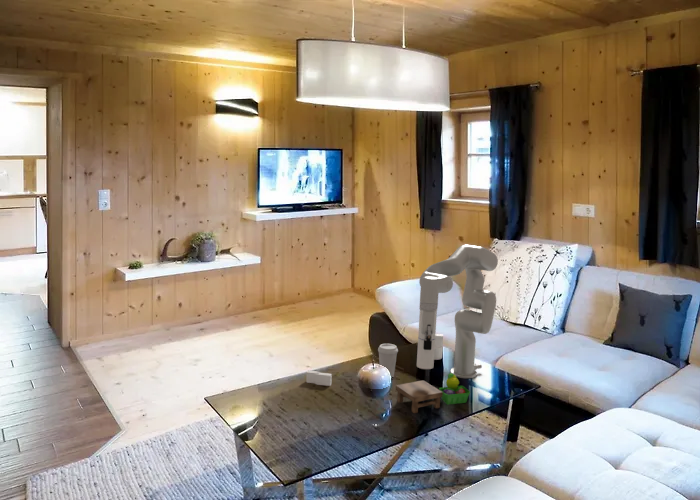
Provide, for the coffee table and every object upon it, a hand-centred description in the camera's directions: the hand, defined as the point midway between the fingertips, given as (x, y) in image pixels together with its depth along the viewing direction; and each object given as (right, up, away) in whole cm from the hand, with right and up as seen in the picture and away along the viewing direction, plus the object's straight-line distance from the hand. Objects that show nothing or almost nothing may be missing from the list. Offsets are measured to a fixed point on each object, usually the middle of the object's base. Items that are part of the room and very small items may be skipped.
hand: (426, 346), depth 242 cm
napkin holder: (-47, -20, +18) cm, 54 cm away
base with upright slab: (+11, -15, +57) cm, 60 cm away
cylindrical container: (0, -9, +1) cm, 9 cm away
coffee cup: (-15, -19, +27) cm, 37 cm away
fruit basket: (+12, -24, +2) cm, 27 cm away
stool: (-4, -24, -2) cm, 24 cm away
